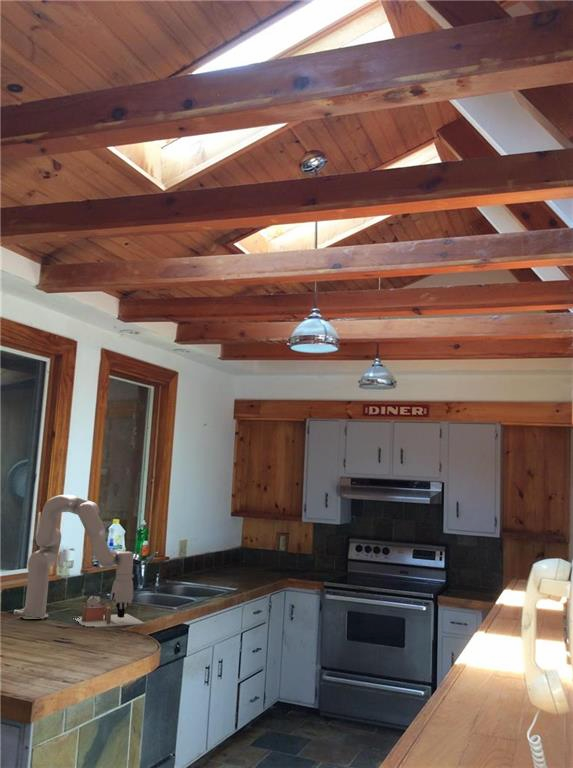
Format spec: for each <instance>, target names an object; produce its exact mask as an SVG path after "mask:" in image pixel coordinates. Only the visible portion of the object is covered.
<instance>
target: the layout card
mask: <svg viewBox="0 0 573 768" xmlns="http://www.w3.org/2000/svg"><path fill="white" fill-rule="evenodd" d="M78 617H79V618H80V619H79V618H77V619H76V618H75V620H76V621H75V620H74V618H73V619H72V620H74V621H75V622H77V621H78V622H79V623H78V622H77V623H78V624H80V625H81V626H83V625H85V626H95V628H106V627H107V628H108V627H118V626H122V627H123V626H133V625H145V624H146V622H144V621H142V620H140V619H138V618H136V617H134V616H132V615H130V614H129V613H125V614H124V617H123V618H120V617H118V615H117V614H111V621H110V624H107V623H106V620H105V614H104V618H103V620H91V621H81V620H82V616H78Z"/></svg>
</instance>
